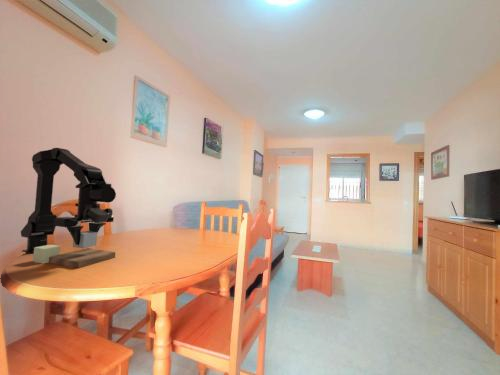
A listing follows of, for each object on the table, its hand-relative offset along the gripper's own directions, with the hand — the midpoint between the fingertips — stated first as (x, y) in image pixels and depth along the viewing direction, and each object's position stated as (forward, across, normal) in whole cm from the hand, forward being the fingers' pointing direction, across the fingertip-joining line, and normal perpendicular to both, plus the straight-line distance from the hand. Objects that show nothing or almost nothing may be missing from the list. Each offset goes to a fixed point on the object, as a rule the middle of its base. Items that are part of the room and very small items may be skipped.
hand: (84, 243), depth 84 cm
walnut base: (+6, 0, 0) cm, 6 cm away
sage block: (+6, -6, +10) cm, 13 cm away
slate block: (+1, 0, 0) cm, 1 cm away
